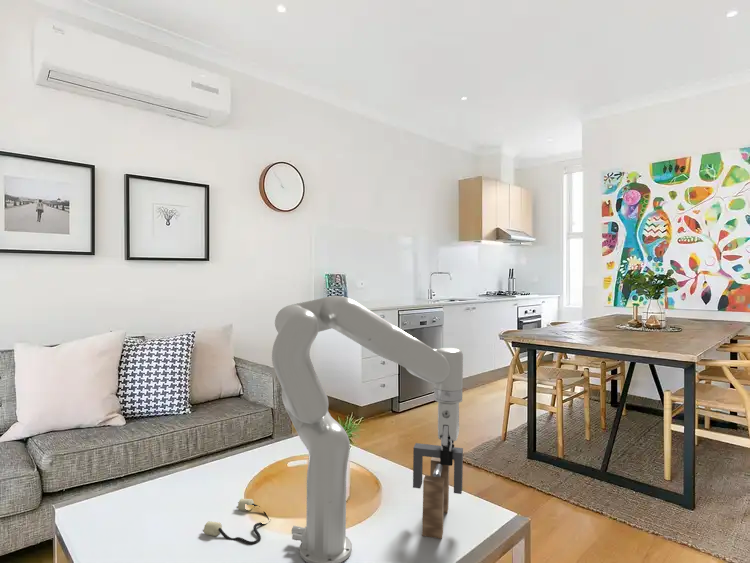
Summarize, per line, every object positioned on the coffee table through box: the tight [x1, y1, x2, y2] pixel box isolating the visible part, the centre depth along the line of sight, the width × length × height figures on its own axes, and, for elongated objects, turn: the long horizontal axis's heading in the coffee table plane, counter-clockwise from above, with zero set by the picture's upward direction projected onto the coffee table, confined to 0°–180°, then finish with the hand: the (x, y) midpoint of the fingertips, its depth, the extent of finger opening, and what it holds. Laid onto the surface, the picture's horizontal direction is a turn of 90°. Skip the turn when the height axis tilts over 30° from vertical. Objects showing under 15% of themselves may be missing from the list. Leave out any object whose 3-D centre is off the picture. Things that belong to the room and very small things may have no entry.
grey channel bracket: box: [412, 442, 464, 495], centre depth 127 cm, size 13×4×11 cm, turn 75°
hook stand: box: [421, 457, 450, 540], centre depth 127 cm, size 5×16×14 cm, turn 165°
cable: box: [202, 498, 263, 545], centre depth 124 cm, size 16×16×4 cm
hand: (447, 460), depth 126 cm, fingers closed on grey channel bracket, 3 cm apart
